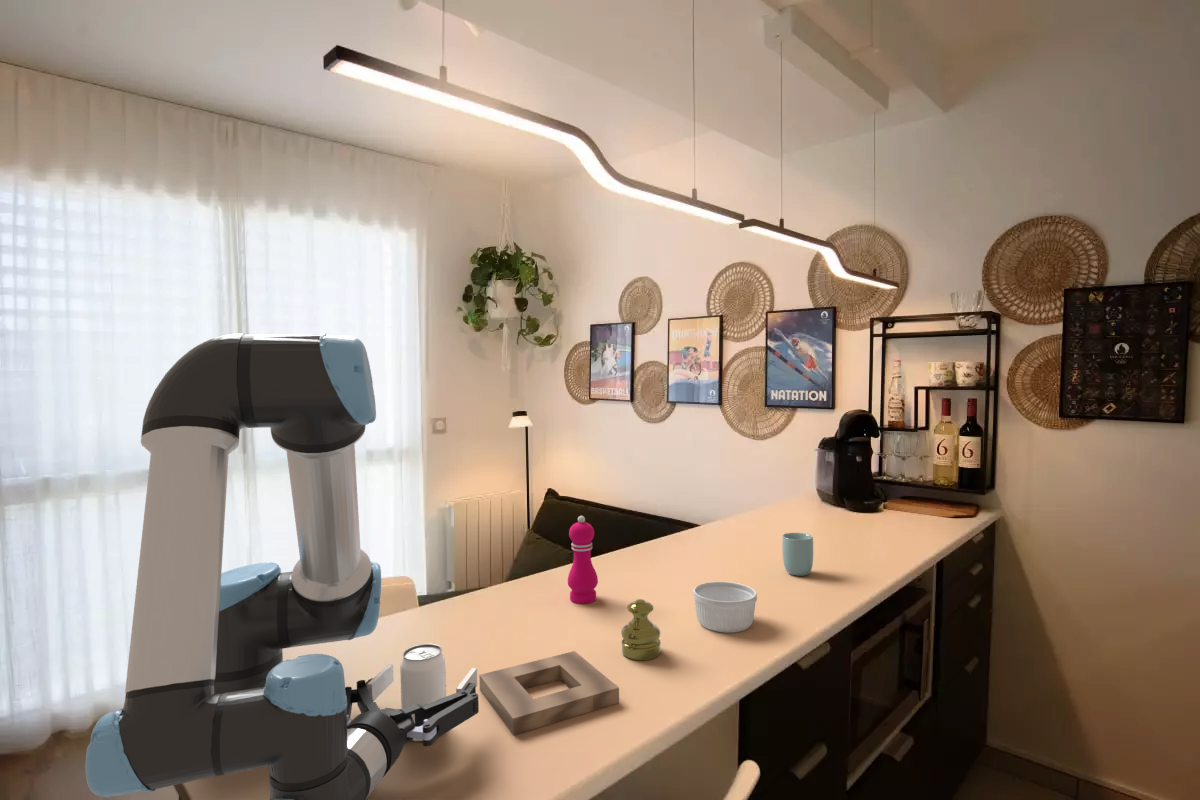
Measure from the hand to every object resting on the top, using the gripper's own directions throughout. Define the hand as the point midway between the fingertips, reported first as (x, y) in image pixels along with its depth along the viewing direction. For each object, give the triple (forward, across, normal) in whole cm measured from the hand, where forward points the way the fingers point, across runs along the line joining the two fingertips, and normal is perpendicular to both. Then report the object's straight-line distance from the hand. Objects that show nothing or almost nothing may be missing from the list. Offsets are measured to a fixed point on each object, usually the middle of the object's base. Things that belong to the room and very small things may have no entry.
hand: (432, 674), depth 96 cm
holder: (+9, +16, -7) cm, 20 cm away
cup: (+79, +67, -7) cm, 104 cm away
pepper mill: (+55, +14, -7) cm, 57 cm away
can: (-3, 0, -7) cm, 8 cm away
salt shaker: (+27, +30, -7) cm, 41 cm away
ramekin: (+43, +46, -7) cm, 64 cm away
